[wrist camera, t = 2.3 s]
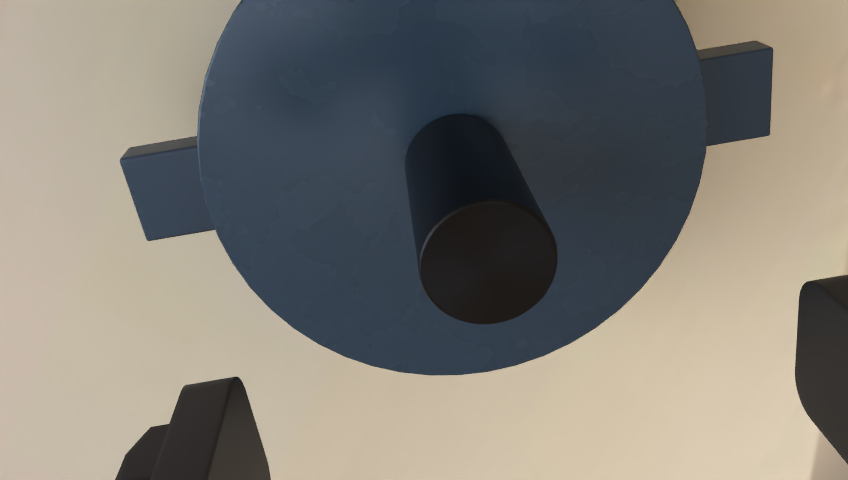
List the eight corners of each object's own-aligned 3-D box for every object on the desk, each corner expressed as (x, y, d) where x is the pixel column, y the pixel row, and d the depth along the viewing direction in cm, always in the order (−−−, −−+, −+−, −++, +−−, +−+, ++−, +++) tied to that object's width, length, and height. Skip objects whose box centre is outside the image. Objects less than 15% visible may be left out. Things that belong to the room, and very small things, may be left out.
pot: (131, -54, 24) (43, -24, 18) (676, -148, 24) (797, -153, 18) (229, 275, 29) (189, 396, 23) (681, 197, 29) (776, 296, 22)
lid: (139, -66, 18) (25, -32, 12) (689, -160, 18) (854, -174, 12) (271, 384, 23) (238, 565, 17) (692, 313, 23) (808, 469, 17)
